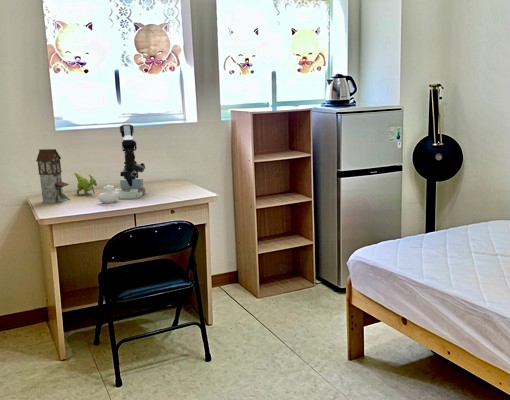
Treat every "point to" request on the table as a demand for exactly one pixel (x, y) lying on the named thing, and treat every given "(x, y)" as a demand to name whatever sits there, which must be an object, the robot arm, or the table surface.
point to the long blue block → (135, 184)
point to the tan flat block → (138, 190)
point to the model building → (51, 176)
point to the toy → (85, 184)
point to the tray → (129, 195)
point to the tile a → (118, 190)
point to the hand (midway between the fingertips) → (132, 185)
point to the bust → (108, 195)
